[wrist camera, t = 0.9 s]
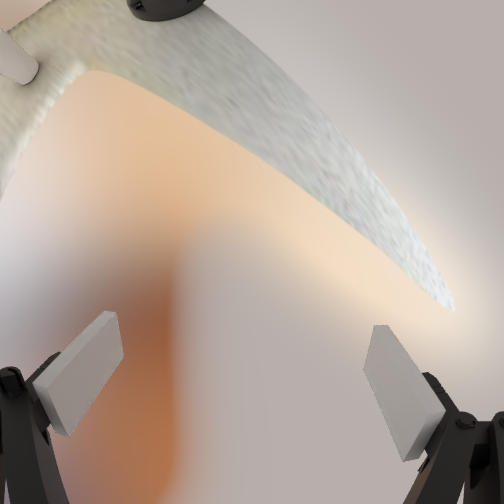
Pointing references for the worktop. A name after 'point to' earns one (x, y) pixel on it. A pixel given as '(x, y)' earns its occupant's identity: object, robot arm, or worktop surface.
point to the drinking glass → (15, 60)
